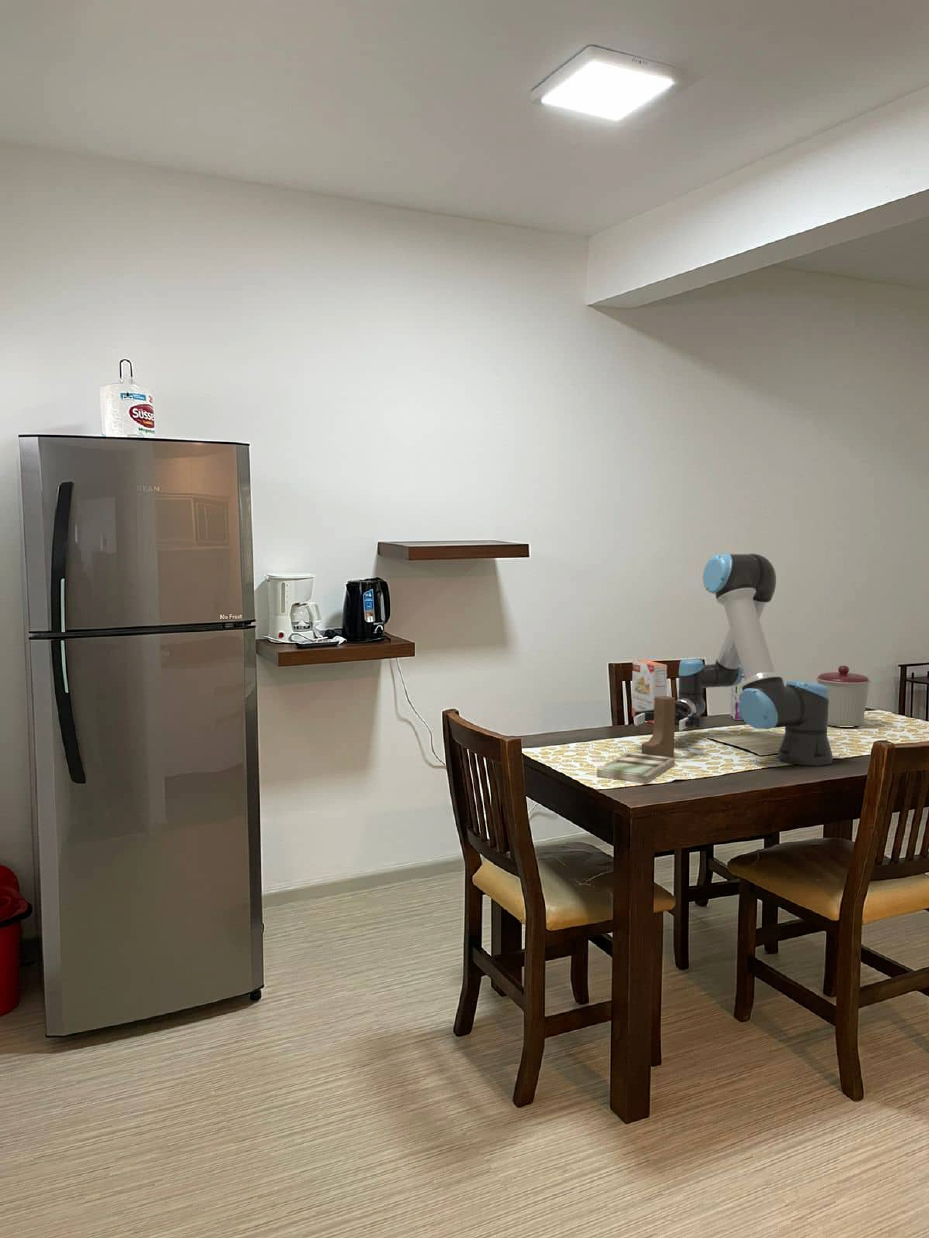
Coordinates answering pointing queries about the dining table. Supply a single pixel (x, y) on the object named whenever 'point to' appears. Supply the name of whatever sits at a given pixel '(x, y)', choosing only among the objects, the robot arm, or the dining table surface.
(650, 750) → the wooden block
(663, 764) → the board
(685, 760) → the dining table surface
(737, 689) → the candy bar box
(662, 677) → the cracker box
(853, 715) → the canister
